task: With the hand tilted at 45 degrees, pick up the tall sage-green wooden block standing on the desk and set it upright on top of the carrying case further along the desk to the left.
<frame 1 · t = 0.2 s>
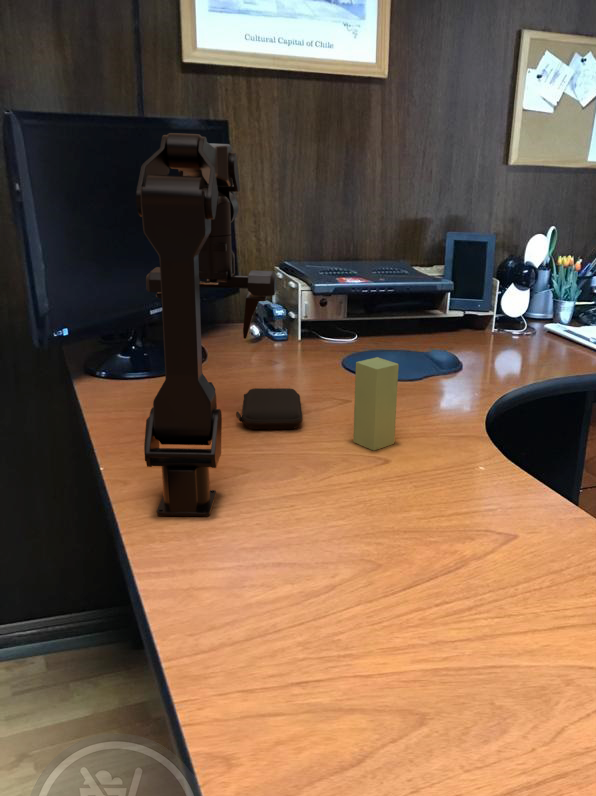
hand: (215, 337, 119), 15 cm above the table, tool pointing down, fingers open, 9 cm apart
carrying case: (269, 417, 130), on the table
block: (373, 442, 121), on the table
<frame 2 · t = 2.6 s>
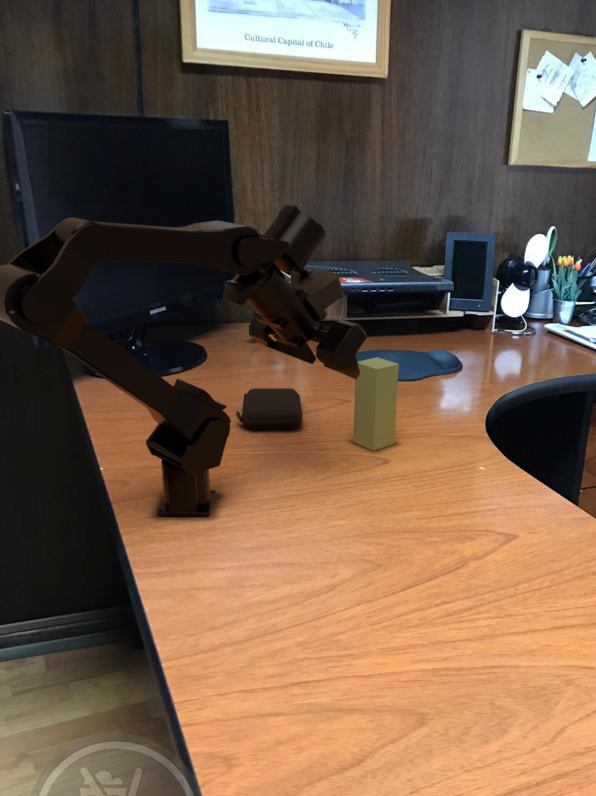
hand: (335, 368, 111), 13 cm above the table, tool tilted 45°, fingers open, 9 cm apart
nothing on the table moved.
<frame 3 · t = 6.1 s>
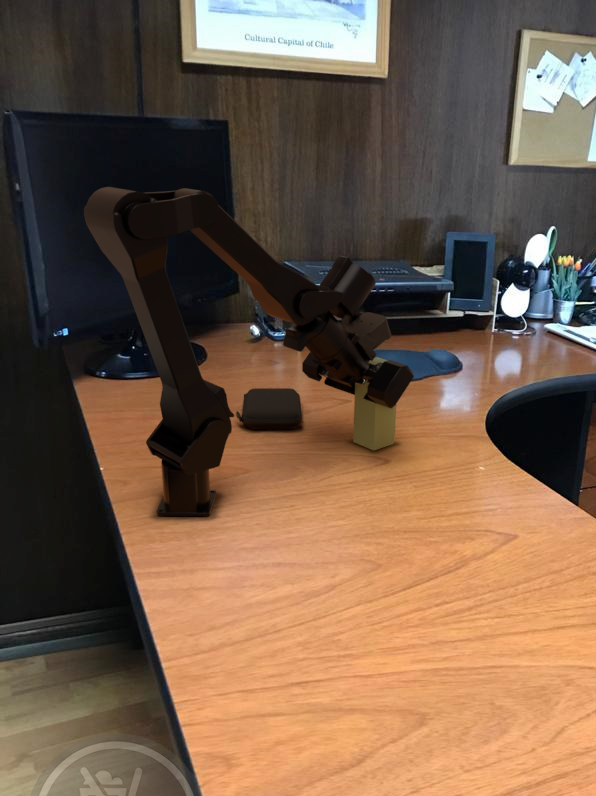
hand: (381, 401, 119), 7 cm above the table, tool tilted 45°, fingers closed on block, 4 cm apart
block: (373, 442, 121), on the table, touching gripper
everything else where it was.
when the fingers open (10 cm above the table, at t = 13.9 s): block stays where it is, resting on carrying case.
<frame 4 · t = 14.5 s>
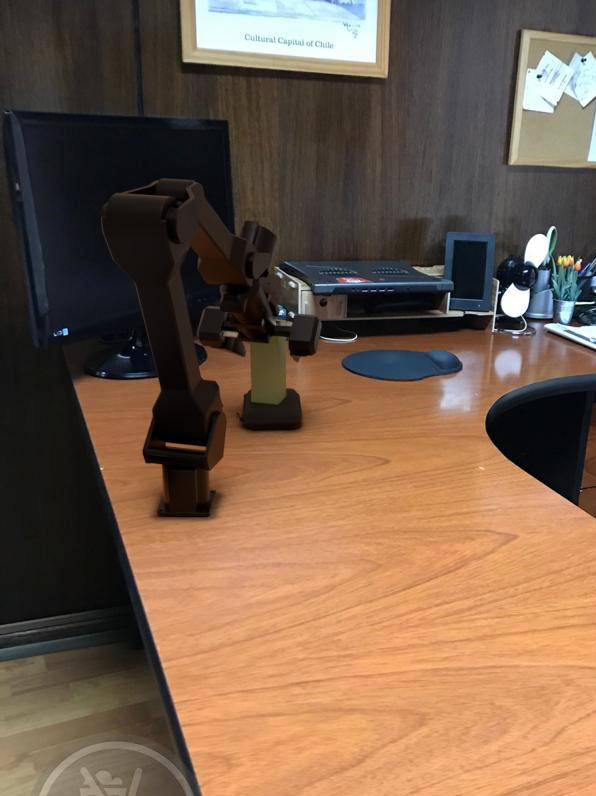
hand: (271, 357, 127), 10 cm above the table, tool tilted 45°, fingers open, 9 cm apart
carrying case: (269, 417, 130), on the table, touching block
block: (269, 399, 129), point 3 cm above the table, touching carrying case
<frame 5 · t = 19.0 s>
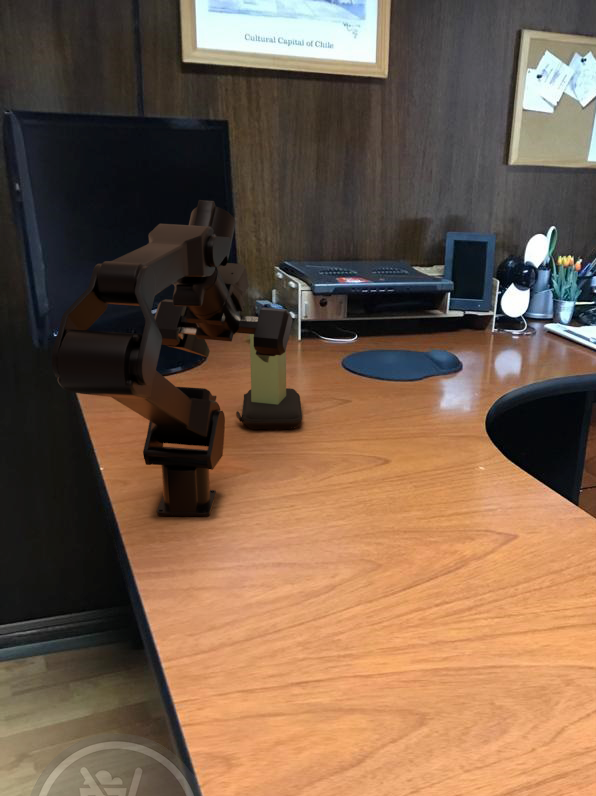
hand: (237, 356, 114), 14 cm above the table, tool tilted 45°, fingers open, 9 cm apart
nothing on the table moved.
at the end: block inside the target area on the carrying case (0.0 cm from its centre), point 3.3 cm above the carrying case's base; block tilted 0°; the gripper is holding nothing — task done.
